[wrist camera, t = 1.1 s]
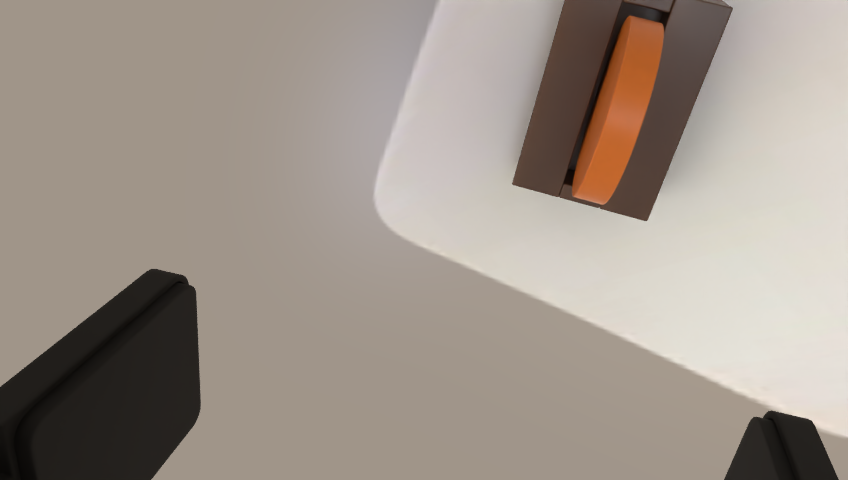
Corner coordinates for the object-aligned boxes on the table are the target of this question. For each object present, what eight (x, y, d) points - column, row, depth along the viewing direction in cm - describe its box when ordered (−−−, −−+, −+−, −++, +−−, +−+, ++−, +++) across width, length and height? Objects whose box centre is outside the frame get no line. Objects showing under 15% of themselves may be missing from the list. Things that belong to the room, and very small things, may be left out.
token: (573, 163, 30) (569, 224, 24) (625, 5, 27) (636, 29, 21) (599, 170, 30) (602, 233, 24) (654, 12, 27) (674, 38, 21)
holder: (517, 165, 32) (511, 184, 29) (574, -36, 27) (573, -31, 25) (643, 200, 31) (647, 221, 29) (721, -1, 27) (733, 7, 25)
